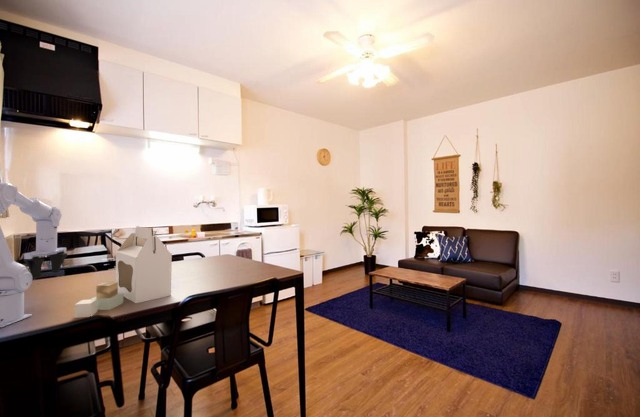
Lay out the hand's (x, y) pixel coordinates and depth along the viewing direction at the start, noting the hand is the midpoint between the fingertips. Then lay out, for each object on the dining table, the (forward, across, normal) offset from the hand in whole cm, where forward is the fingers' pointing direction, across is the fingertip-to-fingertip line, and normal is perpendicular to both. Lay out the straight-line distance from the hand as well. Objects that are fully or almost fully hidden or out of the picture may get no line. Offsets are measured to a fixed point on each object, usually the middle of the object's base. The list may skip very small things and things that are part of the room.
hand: (46, 274), depth 107 cm
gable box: (+11, +12, -29) cm, 33 cm away
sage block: (+11, -3, -25) cm, 27 cm away
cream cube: (+10, -11, -24) cm, 28 cm away
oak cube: (+7, -3, -25) cm, 26 cm away
